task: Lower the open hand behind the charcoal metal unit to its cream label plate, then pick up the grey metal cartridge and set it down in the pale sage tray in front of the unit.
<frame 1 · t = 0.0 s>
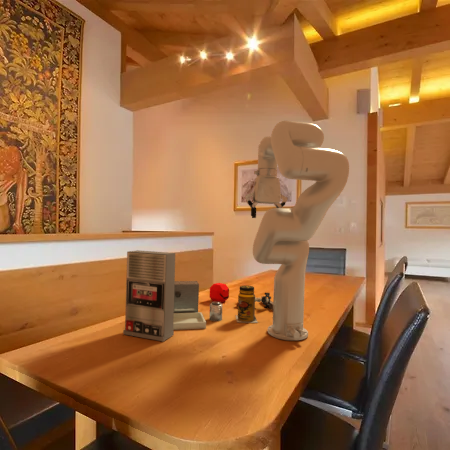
hand: (265, 218, 122), 37 cm above the table, tool pointing down, fingers open, 9 cm apart
condiment: (246, 319, 112), on the table
valve rest: (256, 306, 130), on the table
ball: (218, 301, 137), on the table
valve: (256, 307, 130), on the table, touching valve rest
tray: (187, 323, 105), on the table
cartridge: (215, 319, 111), on the table
cassette tape recorder: (148, 336, 93), on the table
unit: (183, 315, 114), on the table
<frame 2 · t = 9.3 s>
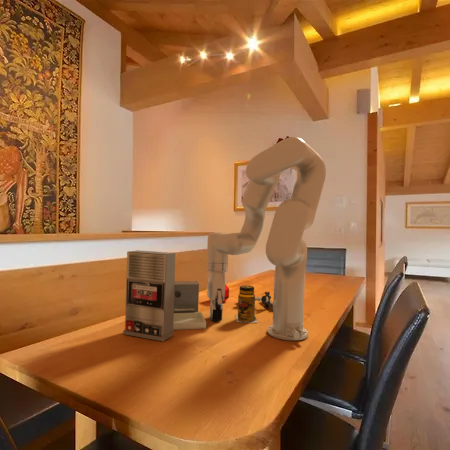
hand: (215, 317, 111), 1 cm above the table, tool pointing down, fingers closed on cartridge, 4 cm apart
cartridge: (215, 319, 111), on the table, touching gripper
everything else where it was.
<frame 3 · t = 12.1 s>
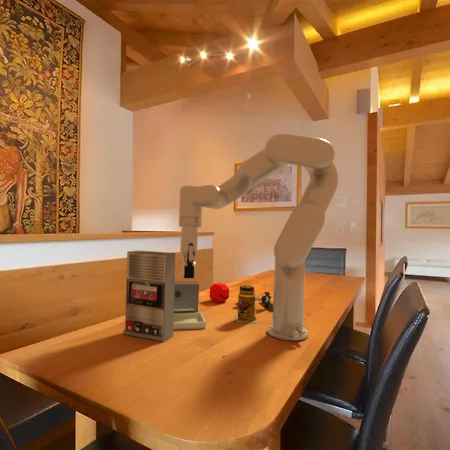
hand: (188, 276, 105), 16 cm above the table, tool pointing down, fingers closed on cartridge, 4 cm apart
cartridge: (188, 277, 105), point 16 cm above the table, touching gripper
everything else where it was.
when the fingers open (2 cm above the table, at t = 14.8 s): cartridge drops 1 cm, resting on tray.
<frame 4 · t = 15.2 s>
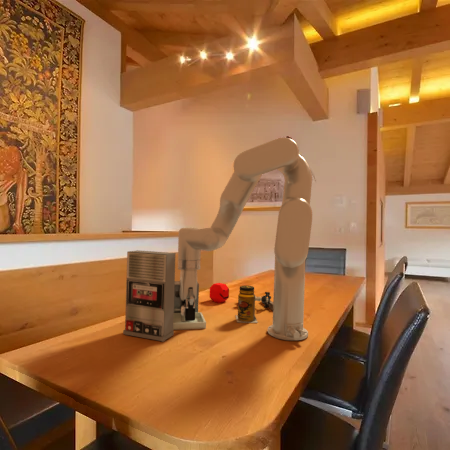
hand: (188, 316, 105), 3 cm above the table, tool pointing down, fingers open, 8 cm apart
cartridge: (187, 321, 106), resting on tray
everything else where it was.
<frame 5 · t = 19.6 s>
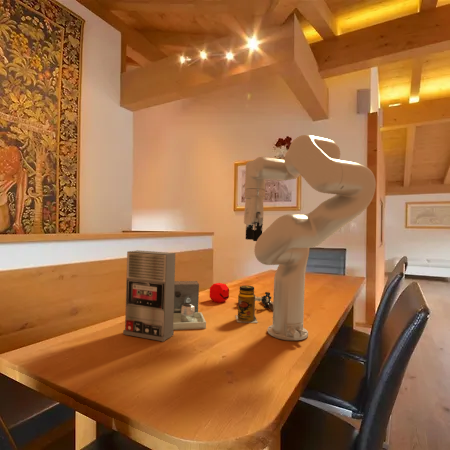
hand: (253, 240, 117), 28 cm above the table, tool pointing down, fingers open, 9 cm apart
nothing on the table moved.
at the end: cartridge inside the target area on the tray (0.3 cm from its centre), point 0.5 cm above the tray's base; cartridge tilted 3°; the gripper is holding nothing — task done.
